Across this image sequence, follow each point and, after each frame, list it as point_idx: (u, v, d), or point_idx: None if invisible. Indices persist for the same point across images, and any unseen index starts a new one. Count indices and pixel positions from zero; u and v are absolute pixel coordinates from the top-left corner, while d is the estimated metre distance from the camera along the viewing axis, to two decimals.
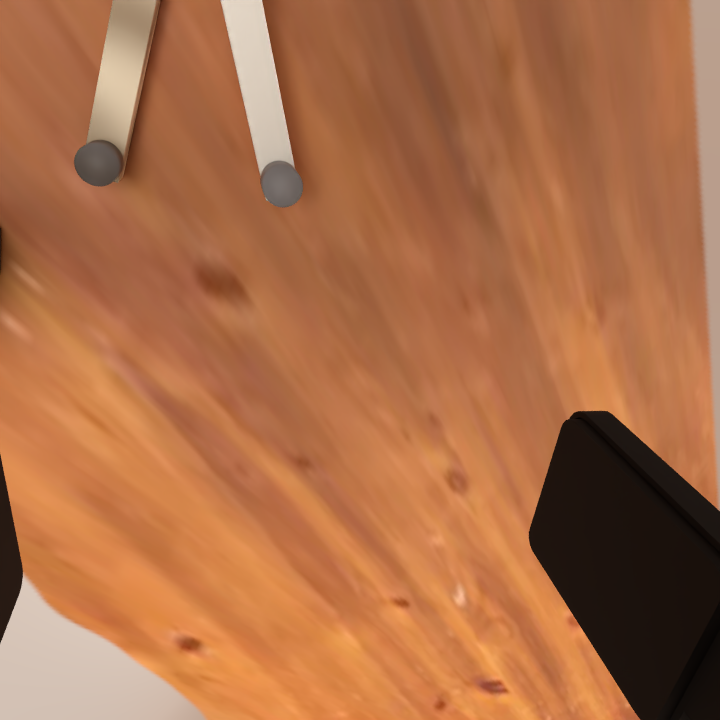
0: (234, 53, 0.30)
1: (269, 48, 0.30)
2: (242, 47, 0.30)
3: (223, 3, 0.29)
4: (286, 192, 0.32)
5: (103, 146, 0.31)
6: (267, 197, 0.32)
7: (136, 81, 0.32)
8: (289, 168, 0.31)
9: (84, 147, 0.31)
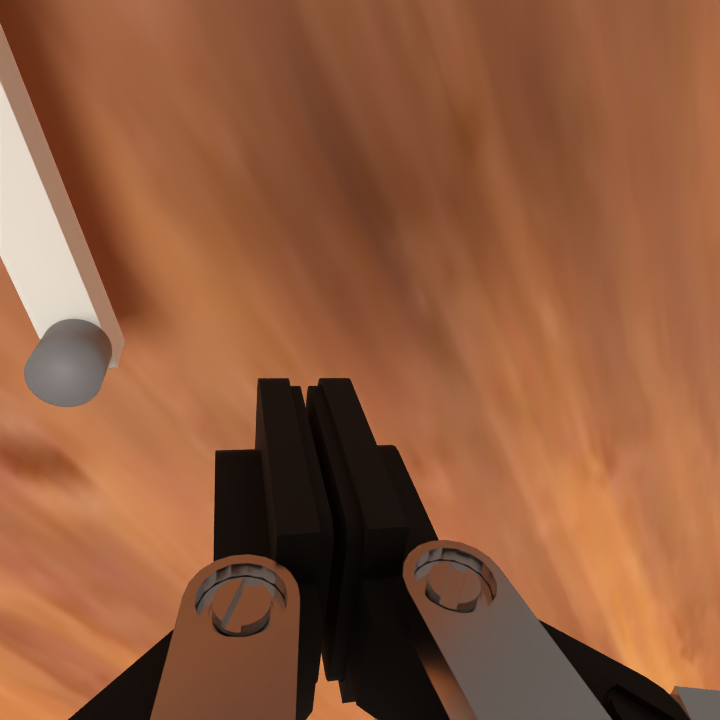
0: None
1: (20, 140, 0.16)
2: None
3: None
4: (72, 384, 0.18)
5: None
6: (38, 394, 0.18)
7: None
8: (71, 348, 0.18)
9: None
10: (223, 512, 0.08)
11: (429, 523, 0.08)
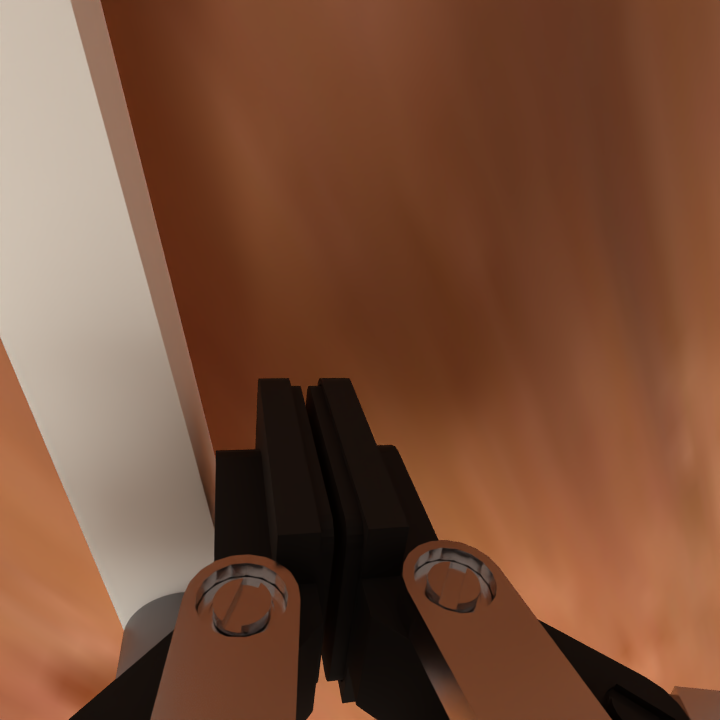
0: None
1: (143, 299, 0.08)
2: (31, 296, 0.07)
3: None
4: None
5: None
6: None
7: None
8: None
9: None
10: (223, 512, 0.08)
11: (429, 523, 0.08)
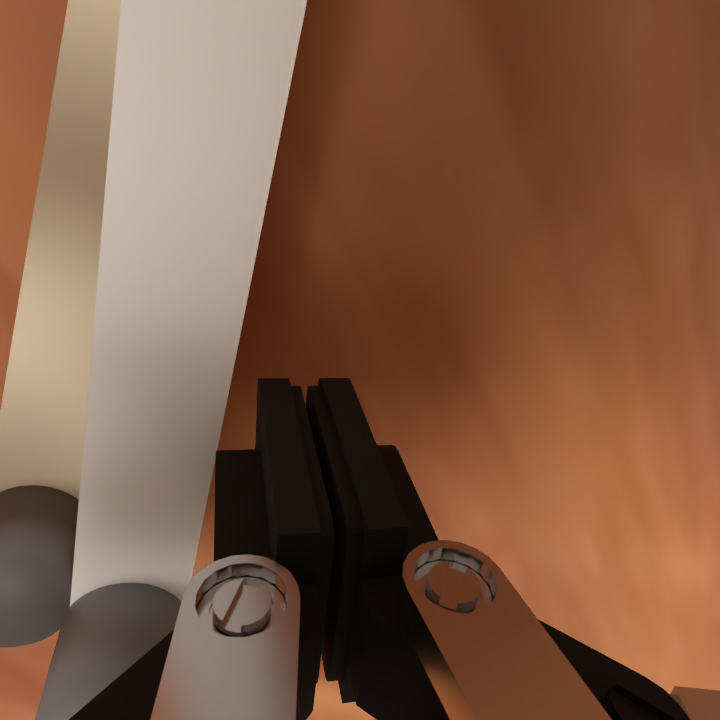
0: (102, 284, 0.08)
1: (238, 310, 0.08)
2: (142, 274, 0.08)
3: (118, 111, 0.07)
4: None
5: (25, 557, 0.10)
6: None
7: None
8: None
9: None
10: (223, 512, 0.08)
11: (429, 523, 0.08)
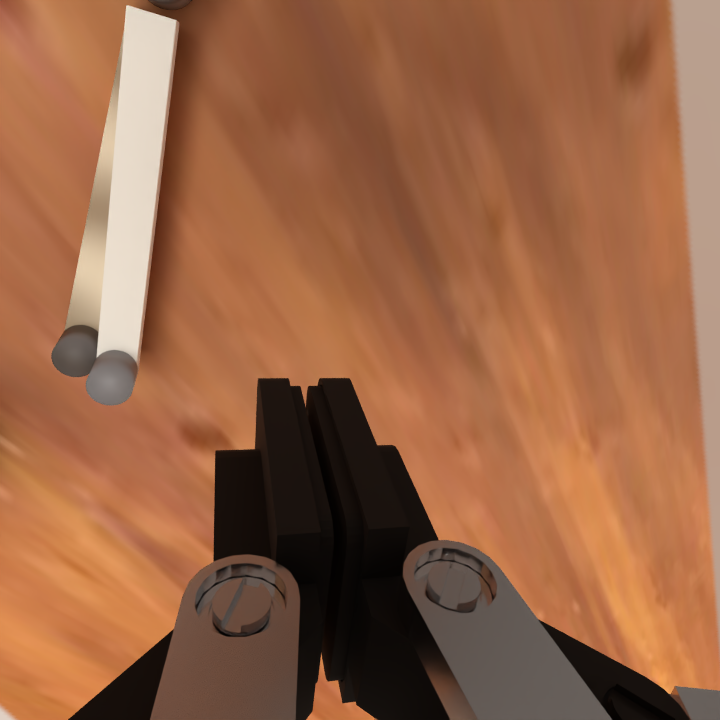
0: (107, 244, 0.28)
1: (147, 253, 0.29)
2: (118, 242, 0.28)
3: (111, 199, 0.27)
4: (111, 392, 0.29)
5: (81, 340, 0.30)
6: (88, 390, 0.29)
7: None
8: (122, 372, 0.29)
9: (62, 343, 0.30)
10: (223, 512, 0.08)
11: (429, 523, 0.08)
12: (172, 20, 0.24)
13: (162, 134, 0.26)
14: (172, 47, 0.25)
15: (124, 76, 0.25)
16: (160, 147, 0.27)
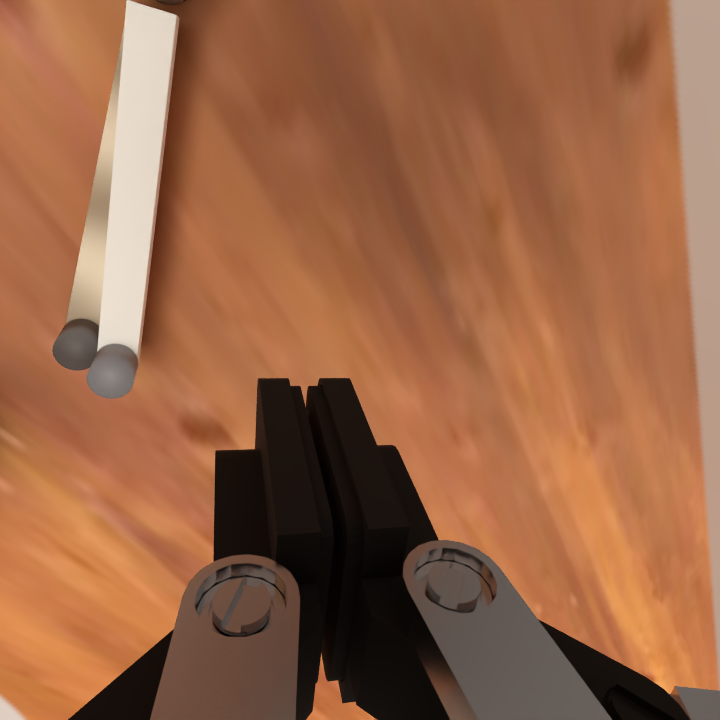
0: (108, 239, 0.28)
1: (147, 247, 0.29)
2: (119, 236, 0.28)
3: (112, 193, 0.27)
4: (112, 385, 0.30)
5: (82, 334, 0.30)
6: (89, 383, 0.29)
7: None
8: (123, 365, 0.29)
9: (63, 336, 0.30)
10: (223, 512, 0.08)
11: (429, 523, 0.08)
12: (172, 15, 0.25)
13: (162, 129, 0.27)
14: (172, 42, 0.25)
15: (124, 71, 0.25)
16: (160, 142, 0.27)
